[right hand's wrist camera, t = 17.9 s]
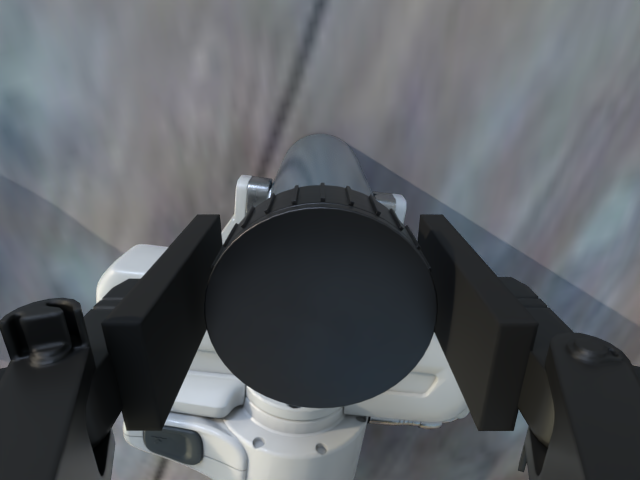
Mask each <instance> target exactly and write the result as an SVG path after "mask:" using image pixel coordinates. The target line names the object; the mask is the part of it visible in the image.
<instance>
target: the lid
mask: <svg viewBox="0 0 640 480" xmlns="http://www.w3.org/2000/svg"><path fill="white" fill-rule="evenodd" d="M420 249H421V247H420V245H419V244H418V242H417V240H416V239H415V237H414V235H413V234H412V232H411V230H410V228H409V227H408V225H407V226H404V225H403V224H402V222H401V221H400V220H399V219H398V217H397V215H396V213H395V211H394V210H393V209H392V208H391V209H390V210H389V209H388V208H387V207H386V206H384V205H383V204H381V203H380V202H378V201H377V200H375V198H374V196H373V195H371V194H370V196H367V195H365V194H363V193H361V192H358V191H355V190H352V189H351V188H350V186H346V188H344V187H339V186H330V185H325V183H321V185H310V186H303V187H299V185H296V186H295V187H294V188H293V189H290V190H287V191H284V192H281V193H279V194H276V195H275V193H273V194H271V195H270V198H268V199H267V200H265V201H263V202H262V203H260V204H259V205H257V206H256V207H255V208H254V206H252V207H251V208H250V209H249V211H248V213H247V215H246V216H245V217H244V218H243V219H242V221H241V222H240V223H239V224H237V223H235V225H234V226H233V228H232V230H231V232H230V233H229V235H228V237H227V239H226V240H225V242H224V244H223V246H222V248H221V250H220V252H219V253H218V255H217V257H216V259H215V260H214V262H213V264H212V266H211V268H212V269H213V270H212V272H211V274H210V277H209V280H208V283H207V287H206V291H205V299H204V317H205V323H206V328H207V332H208V335H209V338H210V341H211V343H212V345H213V347H214V349H215V351H216V353H217V355H218V356H219V358H220V359H221V361H222V362H223V363H224V365H225V366H226V367H227V368H228V369H229V370H230V371H231V373H232V374H233V375H234V376H236V377H237V378H238V379H239V380H240V381H241V382H243V383H244V384H245V385H247V386H248V387H250V388H251V389H253V390H254V391H256V392H258V393H260V394H262V395H264V396H266V397H268V398H270V399H273V400H276V401H278V402H282V403H285V404H289V405H293V406H299V407H305V408H336V407H343V406H349V405H353V404H357V403H360V402H363V401H366V400H369V399H371V398H374V397H376V396H378V395H380V394H382V393H384V392H386V391H387V390H389V389H390V388H392V387H394V386H395V385H396V384H398V383H399V382H400V381H401V380H403V379H404V378H405V377H406V376H407V375H408V374H409V373H410V372H411V371H412V370H413V369H414V368H415V367H416V366H417V364H418V363H419V361H420V360H421V359H422V357H423V356H424V354H425V352H426V350H427V349H428V347H429V345H430V342H431V340H432V337H433V334H434V331H435V327H436V322H437V313H438V302H437V292H436V288H435V284H434V280H433V277H432V275H431V273H430V272H431V271H432V269H431V267H430V265H429V263H428V262H427V260H426V258H425V257H424V255H423V253H422V251H421V250H420Z"/></svg>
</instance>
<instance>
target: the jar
mask: <svg viewBox="0 0 640 480" xmlns="http://www.w3.org/2000/svg"><path fill="white" fill-rule="evenodd" d="M321 183H325V185H330V186H339V187H344V188H346V186H350V188H351V189H352V190H355V191H358V192H361V193H363V194H365V195H367V196H370V194H371V195H373V193H372V190H371V188H370V186H369V184H368V182H367V179H366V177H365V175H364V173H363V171H362V168H361V166H360V164H359V162H358V160H357V157H356V155H355V154H354V152H353V150H352V149H351V148H350V147H349V146H348V145H347V144H346V143H345V142H344V141H342V140H341V139H339V138H337V137H334V136H332V135H328V134H313V135H309V136H306V137H304V138H302V139H300V140H298V141H297V142H296V143H294V144H293V145H292V146H291V147H290V149H289V150H288V151H287V153H286V155H285V157H284V159H283V161H282V163H281V166H280V168H279V170H278V172H277V175H276V177H275V179H274V181H273V184H272V186H271V188H270V190H269V193H268V195H267V197H266V199H265V200H267V199H268V198H270V195H271V194H273V193H275V195H276V194H279V193H281V192H284V191H287V190H290V189H293V188H294V187H295V186H296V185H299V187H303V186H310V185H321ZM373 196H374V195H373ZM374 198H375V197H374ZM375 200H376V199H375Z"/></svg>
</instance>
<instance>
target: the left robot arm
mask: <svg viewBox="0 0 640 480" xmlns="http://www.w3.org/2000/svg"><path fill="white" fill-rule="evenodd" d="M271 186H272V179H269V178H262V177H255V176H249V175H241V177H240V178H239V179H238V182H237V186H236V195H235V214H234V215H233V216H232V218H231V219H230V221H229V222H228V223H227V225H226V226H225V228H224V229H223V231H222V232H221V233H222V243H223V244H224V242H225V240H226V239H227V237H228V235H229V233H230V232H231V230H232V228H233V226H234V225H235V223H237V224H239V223H240V222H241V221H242V219H243V218H244V217H245V216H246V215H247V213H248V211H249V209H250V208H251V207H252V206H254V208H255V207H256V206H257V205H259V204H260V203H262V202H263V201H265V199H266V197H267V195H268V193H269V190H270V188H271ZM372 193H373V195H374V197H375V199H376V200H377V201H378V202H380V203H381V204H383V205H384V206H386V207H387V208H388V209H389V210H390V209H391V208H392V209H393V210H394V211H395V213H396V215H397V217H398V219H399V220H400V221H401V222H402V224H403V223H404V219H405V214H406V200H405V199H404V197H403V196H402V195H399V194H392V193H383V192H374V191H373V192H372ZM167 248H168V247H164V246H156V245H148V244H138V245H135V246H133V247H132V248H131V249H129V250H128V251H127V252H126V253H124V254H123V255H122V256H120V257H119V258H118V259H117V260H116V261H115V262H114V263H113V264H112V265H111V266H110V267H109V268H108V269H107V270H106V271H105V272H104V274H103V275H102V276H101V278H100V280H99V282H98V285H97V290H96V302H97V303H98V302H99V301H100V300H102V298H103V297H104V296H105V295H106V294H107V293H108V292H109V291H110V290H111V289H112V288H113V287H114V286H116V285H118V284H120V283H122V282H124V281H125V280H127V279H141V278H142V277H143V275H144V274H145V273H146V272H147V271H148V270H149V269H150V268H151V266H152V265H153V264H154V263H155V262H156V261H157V260H158V259H159V257H160V256H161V255H162V254H163V253H164V252H165V251H166V250H167ZM469 412H470V411H469V409H468V406H467V404H466V402H465V400H464V397H463V395H462V393H461V391H460V388H459V386H458V384H457V382H456V380H455V377H454V375H453V373H452V371H451V368H450V366H449V364H448V362H447V359H446V357H445V355H444V353H443V351H442V348H441V346H440V344H439V342H438V339H437V337H436V335H435V333H434V334H433V337H432V340H431V342H430V345H429V347H428V349H427V350H426V352H425V354H424V356H423V357H422V359H421V360H420V361H419V363H418V364H417V366H416V367H415V368H414V369H413V370H412V371H411V372H410V373H409V374H408V375H407V376H406V377H405V378H404V379H403V380H401V381H400V382H399V383H398V384H396V385H395V386H394V387H392V388H390V389H389V390H387V391H386V392H384V393H382V394H380V395H378V396H376V397H374V398H371V399H369V400H366V401H363V402H360V403H357V404H353V405H349V406H343V407H336V408H305V407H299V406H293V405H289V404H285V403H282V402H278V401H276V400H273V399H270V398H268V397H266V396H264V395H262V394H260V393H258V392H256V391H254V390H253V389H251V388H250V387H248V386H247V385H245V384H244V383H243V382H241V381H240V380H239V379H238V378H237V377H236V376H234V375H233V374H232V373H231V371H230V370H229V369H228V368H227V367H226V366H225V365H224V363H223V362H222V361H221V359H220V358H219V356H218V355H217V353H216V351H215V349H214V347H213V345H212V343H211V341H210V338H209V335H208V332H207V330H206V333H205V335H204V337H203V339H202V342H201V344H200V346H199V348H198V350H197V353H196V355H195V357H194V359H193V362H192V364H191V366H190V368H189V371H188V373H187V375H186V377H185V380H184V382H183V384H182V386H181V388H180V391H179V393H178V395H177V397H176V400H175V402H174V404H173V406H172V409H171V411H170V413H169V415H168V418H167V420H166V422H165V424H164V426H163V429H162V431H126V427H125V423H124V422H123V435H124V438H125V440H126V442H127V443H128V444H130V445H131V446H133V447H135V448H137V449H139V450H142V451H145V452H148V453H151V454H154V455H157V456H160V457H163V458H166V459H169V460H172V461H174V462H177V463H179V464H182V465H184V466H187V467H189V468H191V469H194V470H196V471H198V472H200V473H202V474H204V475H206V476H208V477H209V478H211V479H213V480H354V477H355V474H356V469H357V465H358V461H359V456H360V452H361V447H362V442H363V438H364V434H365V430H366V425H367V423H372V424H382V425H396V426H397V425H412V426H418V427H419V428H423V429H438V428H441V426H442V423H448V422H452V421H455V420H457V419H459V418H460V419H461V418H464V417H466V416H467V415H468V413H469Z"/></svg>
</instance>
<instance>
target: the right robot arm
mask: <svg viewBox="0 0 640 480" xmlns="http://www.w3.org/2000/svg"><path fill="white" fill-rule="evenodd" d="M418 244H419V245H420V247H421V249H420V250H421V251H422V253H423V255H424V257H425V258H426V260H427V262H428V263H429V265H430V267H431V269H432V271H431V272H430V273H431V275H432V277H433V280H434V284H435V288H436V292H437V302H438V313H437V322H436V327H435V331H434V333H435V335H436V337H437V339H438V342H439V344H440V346H441V348H442V351H443V353H444V355H445V357H446V359H447V362H448V364H449V366H450V368H451V371H452V373H453V375H454V377H455V380H456V382H457V384H458V386H459V388H460V391H461V393H462V395H463V397H464V400H465V402H466V404H467V406H468V409H469V411H470V413H471V415H472V418H473V420H474V422H475V424H476V426H477V429H478V431H514V427H515V422H516V418H517V414H518V410H520V412H521V414H522V415H523V417H524V419H525V420H526V422H527V424H528V425H529V427H528V431H527V435H526V439H525V442H524V446H523V450H522V454H521V458H520V462H519V468H518V471H522V472H524V470H525V466H526V463H527V465H528V473H529V480H640V367H638V366H633V365H632V364H631V362H630V360H629V359H628V358H627V357H626V356H625V354H624V353H623V352H622V351H621V350H619V349H618V348H616V347H615V346H613V345H612V344H610V343H608V342H606V341H603V340H601V339H599V338H597V337H593V336H590V335H586V334H582V333H574V332H573V331H572V330H571V329H570V328H569V327H568V326H567V325H566V324H565V323H564V322H563V321H562V320H561V319H560V318H559V317H558V316H557V315H556V314H555V313H554V312H553V311H552V310H551V309H550V308H547V305H546V304H545V303H544V302H543V301H542V300H541V299H538V296H537V295H536V294H535V293H534V292H533V291H532V290H531V289H530V288H529V287H528V286H526V285H525V284H523V283H521V282H519V281H517V280H516V279H514V278H512V277H497V275H496V274H495V273H494V272H493V271H492V270H491V269H490V268H489V266H488V265H487V264H486V263H485V262H484V261H483V260H482V259H481V257H480V256H479V255H478V254H477V253H476V252H475V251H474V250H473V248H472V247H471V246H470V245H469V244H468V243H467V242H466V241H465V239H464V238H463V237H462V236H461V235H460V234H459V233H458V232H457V230H456V229H455V228H454V227H453V226H452V225H451V224H450V223H449V221H448V220H447V219H446V218H445V217H444V216H443V215H420V223H419V233H418ZM222 246H223V243H222V233H221V223H220V215H197V216H196V217H195V218H194V219H193V220H192V221H191V223H190V224H189V225H188V226H187V227H186V228H185V229H184V230H183V232H182V233H181V234H180V235H179V236H178V237H177V238H176V239H175V241H174V242H173V243H172V244H171V245H170V246H169V247H168V248H167V250H166V251H165V252H164V253H163V254H162V255H161V256H160V257H159V259H158V260H157V261H156V262H155V263H154V264H153V265H152V266H151V268H150V269H149V270H148V271H147V272H146V273H145V274H144V275H143V277H142V278H141V279H127V280H125V281H124V282H122V283H120V284H118V285H116V286H114V287H113V288H112V289H111V290H110V291H109V292H108V293H107V294H106V295H105V296H104V297H103V298H102V300H100V301H99V302H98V303H97V304H96V305H95V306H94V307H93V309H91V310H90V311H89V312H88V313H87V314H86V315H85V316H84V317H83V313H82V309H81V305H80V303H79V302H77V301H75V300H74V299H67V298H54V299H46V300H42V301H37V302H33V303H30V304H28V305H25V306H22V307H20V308H17V309H16V310H14V311H12V312H10V313H9V314H7V315H5V316H4V317H3V318H2V319H1V320H0V331H1V333H2V336H3V339H4V342H5V345H6V348H7V351H8V353H9V356H10V359H11V361H10V363H9V365H8V367H6V368H2V369H0V480H111V474H112V466H113V458H114V450H115V440H114V435H113V431H112V426H113V424H114V423H115V421H116V419H117V418H118V416H119V414H120V412H121V411H122V414H123V418H124V423H125V427H126V431H162V429H163V426H164V424H165V422H166V420H167V418H168V415H169V413H170V411H171V409H172V406H173V404H174V402H175V400H176V397H177V395H178V393H179V391H180V388H181V386H182V384H183V382H184V380H185V377H186V375H187V373H188V371H189V368H190V366H191V364H192V362H193V359H194V357H195V355H196V353H197V350H198V348H199V346H200V344H201V342H202V339H203V337H204V335H205V333H206V330H207V328H206V323H205V317H204V299H205V291H206V287H207V283H208V280H209V277H210V274H211V272H212V270H213V269H212V268H211V266H212V264H213V262H214V260H215V259H216V257H217V255H218V253H219V252H220V250H221V248H222Z"/></svg>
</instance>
